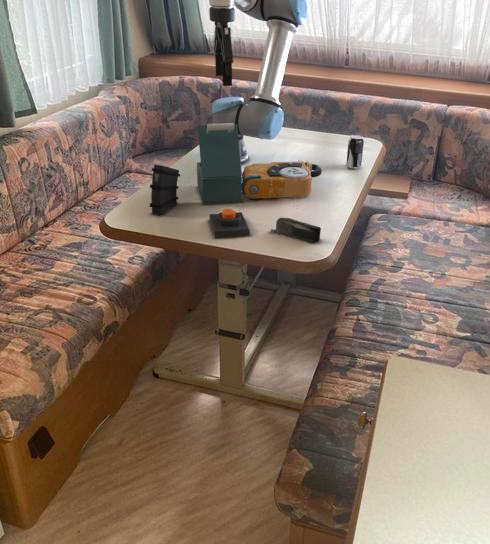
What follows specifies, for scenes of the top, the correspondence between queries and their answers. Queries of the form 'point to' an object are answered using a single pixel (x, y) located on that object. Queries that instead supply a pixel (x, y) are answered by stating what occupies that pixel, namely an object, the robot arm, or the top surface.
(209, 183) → the teal rectangular block
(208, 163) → the lid
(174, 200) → the magazine
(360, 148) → the beverage can
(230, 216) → the button
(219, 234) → the control block
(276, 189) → the device
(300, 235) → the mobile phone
